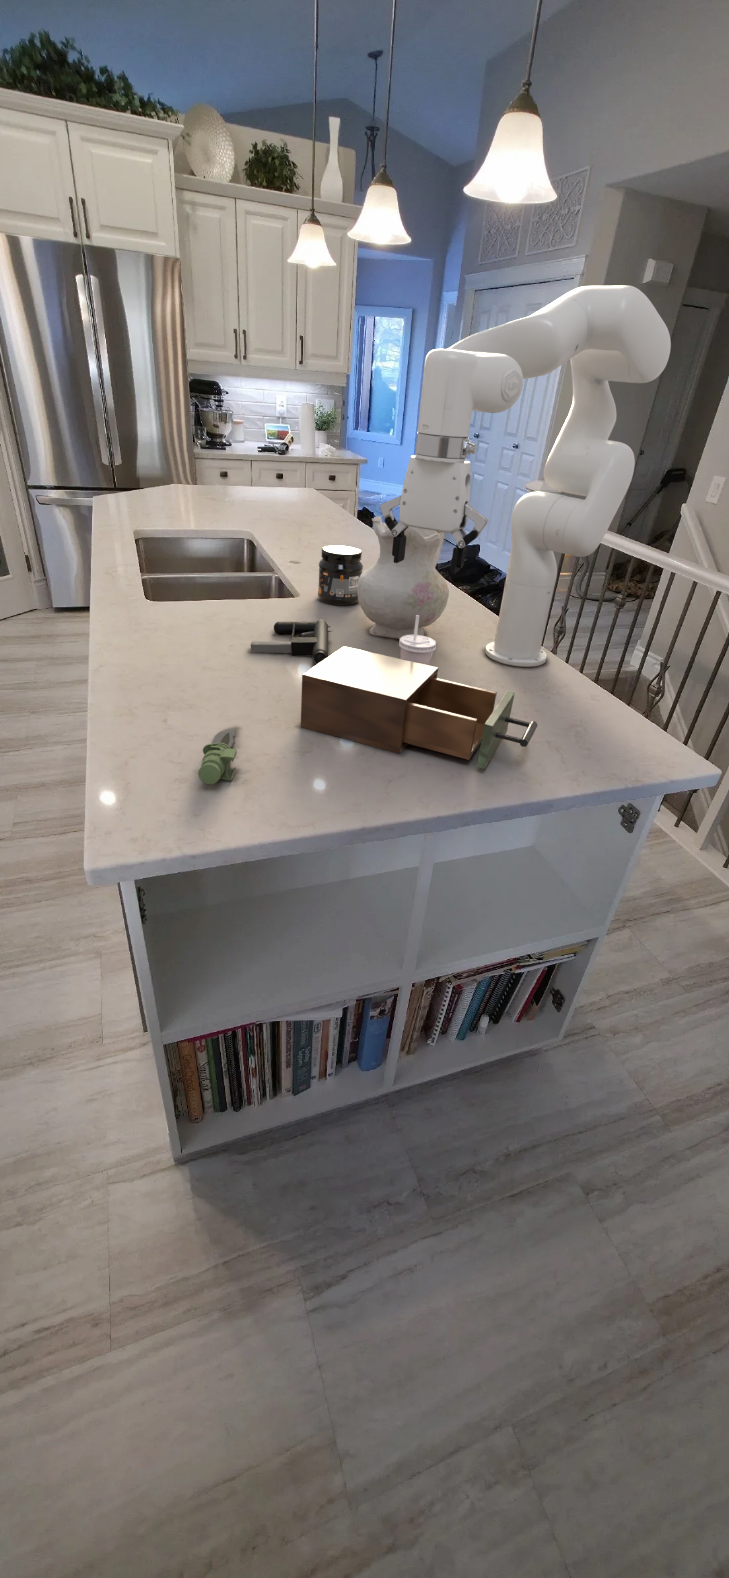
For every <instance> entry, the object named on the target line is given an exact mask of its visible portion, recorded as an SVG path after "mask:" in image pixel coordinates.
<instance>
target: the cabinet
mask: <svg viewBox="0 0 729 1578" xmlns="http://www.w3.org/2000/svg"><path fill="white" fill-rule="evenodd" d="M328 656H329V657H327V658H326V659H324V660H323V661H321V662H320V663H318V664H316V665H314V666H312V667H311V668H310V669H307V671H305V672H304V673H302V674H301V701H300V702H301V703H300V705H301V706H300V728H304V729H308V730H312V731H315V732H319V733H322V734H325V735H329V736H333V737H337V738H340V739H344V740H347V741H350V742H354V743H358V744H362V745H366V746H369V747H373V748H376V749H380V750H384V751H387V752H390V753H395V754H399V755H400V754H401V753H402V752H403V751H404V750H405V749H406V747H407V746H408V745H409V744H408V743H404V742H403V737H404V728H405V720H406V711H407V703H408V702H409V701H410V700H411V699H412V698H413V697H414V696H415V695H416V694H417V693H418V692H419V691H420V690H421V689H422V688H423V687H424V686H425V685H426V684H427V683H428V682H429V681H430V680H431V679H432V678H433V677H434V678H438V676H439V675H438V674H439V667H437V666H434V665H433V666H432V665H425V664H420V663H416V662H411V661H407V660H403V659H401V658H397V657H393V656H389V655H386V654H385V655H384V654H380V653H376V652H371V651H367V650H363V649H359V648H353V647H349V646H345V645H344V646H342V647H341V648H339V649H338V650H336V651H334V652H333V653H332V654H330V655H328Z"/></svg>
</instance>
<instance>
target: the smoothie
mask: <svg viewBox="0 0 729 1578" xmlns="http://www.w3.org/2000/svg"><path fill="white" fill-rule="evenodd" d="M418 623H419V615H416V621H415V629H414V635H406V636H403V637H401V638H400V639H399V641H398V642H399V643H398V646H399V648H400V659H403V660H407V661H411V662H416V663H420V664H425V665H429V666H431V661H432V659H433V658H432V657H433V654H434V652H435V650H436V649H437V641H436V640H435V639H433V638H431V637H430V636H426V635H424V636H422V635H417V631H418Z"/></svg>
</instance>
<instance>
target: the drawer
mask: <svg viewBox="0 0 729 1578" xmlns="http://www.w3.org/2000/svg"><path fill="white" fill-rule="evenodd" d="M497 693H498V692H497V691H495V690H489V689H486V688H481V687H477V686H474V685H473V686H472V685H468V684H464V683H459V682H457V681H451V680H448V679H443V678H438V677H437V678H434V677H433V678H432V679H431V680H430V681H429V682H428V683H427V684H426V685H425V686H424V687H423V688H422V689H421V690H420V691H419V692H418V693H417V694H416V695H415V696H414V697H413V698H412V699H411V700H410V701H409V702H408V703H407V711H406V720H405V728H404V737H403V742H404V743H408V745H411V746H415V747H420V748H423V749H426V750H431V751H435V752H438V753H442V754H445V755H449V756H453V757H455V758H456V757H457V758H460V759H465V760H468V761H469V760H470V759H471V757H472V756H473V755H474V753H475V752H476V750H477V749H478V747H479V745H480V747H479V752H478V757H477V762H476V768H479V769H482V770H485V769H486V768H487V766H488V764H489V762H490V760H492V757H493V756H494V754H495V752H496V751H497V749H498V748H499V746H500V744H501V742H502V741H503V740H505V741H509V742H511V743H512V742H513V743H516V744H519V745H520V746H521V747H522V748H526V747H528V746H529V743H530V741H531V740H532V738H533V735H534V734H535V732H536V729H537V728H538V723H537V721H535V720H531V721H530V722H529V721H525V720H521V719H517V718H513V717H511V714H512V708H513V704H514V699H515V695H516V692H514V691H510V690H506V692H505V694H504V695H503V697H502V698H501V699H500V701H499V702H498V704H497V705H495V704H496V698H497ZM509 724H513V725H518V726H521V727H525V728H526V729H525V731H524V733H523V734H522V737H517V736H513V735H511V734H510V735H509V734H507V732H508V729H509Z"/></svg>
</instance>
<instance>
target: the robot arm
mask: <svg viewBox="0 0 729 1578" xmlns="http://www.w3.org/2000/svg"><path fill="white" fill-rule="evenodd" d="M669 331H670V330H669V329H668V326H667V324H666V323H665V321H664V320H663V318H662V317H661V315H660V314H659V312H658V311H657V309H656V307H655V306H654V304H653V303H652V301H651V300H650V299H649V297H648V296H647V295H646V294H645V293H644V292H642V290H640V289H639V288H637V287H636V286H633V285H627V284H626V285H625V284H623V285H621V284H619V285H612V284H611V285H584V286H583V285H582V286H579V287H576V288H574V289H572V290H570V291H568V292H566V293H565V294H563V295H561V296H560V297H558V298H556V299H555V300H554V301H551V303H549V304H547V305H546V306H544V307H542V308H540V309H539V310H537V311H535V312H534V313H532V314H531V315H529V316H525V317H521V318H518V319H514V320H512V321H509V322H506V323H503V324H500V325H497V326H494V327H491V328H488V329H484V330H482V331H479V332H476V333H474V334H470V335H469V336H466V337H465V338H463V339H461V340H459V341H457V342H456V343H454V344H453V345H451V346H449V347H448V348H435V349H431V350H430V351H429V352H428V353H427V355H426V356H425V359H424V367H423V376H422V384H421V385H422V386H421V394H420V402H419V403H420V404H419V413H418V421H417V422H418V423H417V434H416V441H415V452H414V455H410V458H409V461H408V464H407V469H406V472H405V476H404V480H403V486H402V490H401V495H399V496H397V497H394V498H392V499H389V500H388V501H385V502H383V503H381V504H380V505H379V506H380V507H379V508H380V511H381V514H382V517H383V519H384V523H385V524H386V525H387V527H388V528H389V530H390V531H391V535H392V536H393V548H392V556H394V563H399V562H401V561H403V560H404V557H405V547H406V538H407V537H406V535H404V532H405V531H406V530H407V529H408V528H409V527H415V528H421V529H426V530H433V531H439V532H445V533H446V534H451V536H452V538H453V540H454V542H455V544H456V546H455V547H453V549H452V556H451V563H450V571H449V572H450V574H453V575H455V574H457V573H458V572H459V571H460V570H461V569H462V568H464V564H465V559H466V551H467V546H469V544H471V543H472V542H473V541H474V540H476V539H477V538H479V536H480V534H481V533H482V532H483V531H484V529H485V528H486V526H487V525H488V523H489V520H488V518H487V517H485V516H484V515H483V514H482V513H480V512H479V511H478V510H476V509H475V508H474V507H473V506H472V505H470V499H471V485H472V484H471V479H472V478H471V477H472V471H471V470H472V468H471V467H472V465H471V461H468V460H466V458H467V457H468V456H470V455H476V452H477V443H472V442H471V440H470V437H469V435H470V434H469V433H470V428H471V421H472V414H473V412H479V413H485V414H486V413H487V414H498V413H503V412H505V411H507V410H509V409H510V408H512V406H514V405H515V404H516V403H517V401H518V400H519V398H520V396H521V394H522V391H523V386H524V379H526V380H527V379H532V378H537V377H541V376H542V377H543V376H546V375H548V374H550V373H552V372H553V371H555V370H557V368H559V367H561V366H562V365H564V364H565V363H566V362H568V361H569V360H570V369H571V379H572V382H571V383H572V402H571V407H570V410H569V412H568V415H567V417H566V419H565V422H564V423H563V425H562V427H561V430H560V431H559V433H558V435H557V438H556V439H555V442H554V444H553V446H552V448H551V450H550V453H549V454H548V457H547V459H546V462H545V465H544V468H543V480H544V482H545V483H546V485H547V486H548V487H549V488H551V489H553V490H555V491H558V492H563V493H566V494H571V495H575V496H582V497H585V499H583V498H577V497H574V496H568V495H565V494H558V493H554V492H548V491H532V492H528V493H526V494H524V495H523V496H521V497H520V498H519V499H518V500H517V502H516V503H515V505H514V507H513V509H512V514H511V520H510V553H509V559H508V566H507V571H506V577H505V582H504V587H503V593H502V598H501V604H500V609H499V615H498V619H497V620H498V621H497V626H496V630H495V631H496V632H495V637H494V641H491V642H490V643H488V644H487V645H486V646H485V650H484V653H485V655H486V656H487V657H488V658H490V659H491V660H494V661H495V662H497V663H501V664H503V665H506V666H507V665H508V666H512V667H520V668H531V667H532V668H533V667H538V666H541V665H544V664H545V663H546V662H547V657H548V654H547V653H546V652H545V651H544V649H542V644H543V640H544V636H545V631H546V626H547V621H548V617H549V613H550V609H551V605H552V604H551V603H552V601H553V600H552V599H553V595H554V591H555V586H556V581H557V577H558V564H557V560H556V556H555V553H559V554H562V555H563V554H564V555H568V556H572V557H578V558H585V557H588V556H590V555H592V554H593V553H594V552H595V551H596V550H597V549H598V548H599V546H600V544H601V543H602V541H603V539H604V538H605V535H606V533H607V531H608V530H609V528H610V526H611V524H612V522H613V520H614V518H615V516H616V514H617V512H618V510H619V508H620V506H621V504H622V502H623V500H624V498H625V496H626V494H627V492H628V490H629V488H630V485H631V483H632V480H633V476H634V472H635V464H636V459H635V454H634V451H633V450H632V448H631V447H630V446H629V445H628V444H626V443H624V442H621V441H617V440H611V439H609V438H610V436H611V434H612V431H613V429H614V427H615V425H616V422H617V415H618V413H617V406H616V402H615V400H614V399H615V398H614V396H613V394H612V390H611V388H610V384H609V382H618V383H631V384H647V383H650V382H652V381H654V380H656V379H657V378H658V377H659V376H660V375H662V373H663V372H664V370H665V369H666V367H667V364H668V362H669V358H670V355H671V348H672V341H671V335H670V332H669ZM397 507H399V515H398V518H399V522H398V521H397V519H396V517H395V516H394V513H393V509H395V508H397ZM469 519H470V520H471V521H472V522H473V523H474V526H473V528H472V529H471V531H469V533H467V532H466V530H465V529H464V528H465V527H466V526H467V524H468V520H469ZM554 552H555V553H554Z"/></svg>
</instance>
